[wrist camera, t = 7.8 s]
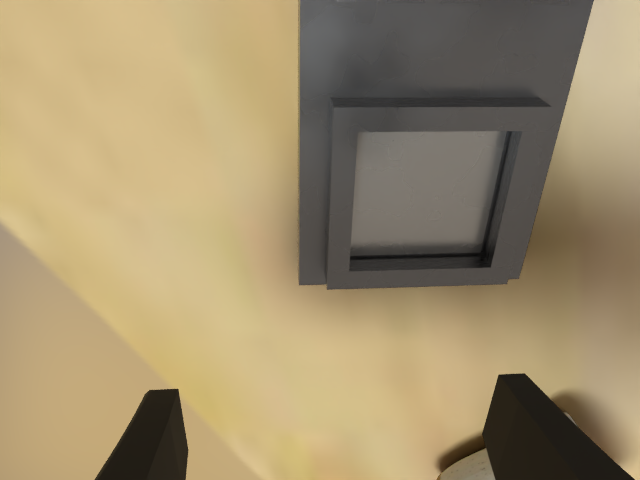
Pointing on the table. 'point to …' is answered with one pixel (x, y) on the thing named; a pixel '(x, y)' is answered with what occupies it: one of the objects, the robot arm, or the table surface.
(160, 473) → the robot arm
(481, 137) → the panel
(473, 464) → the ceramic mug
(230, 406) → the table surface
